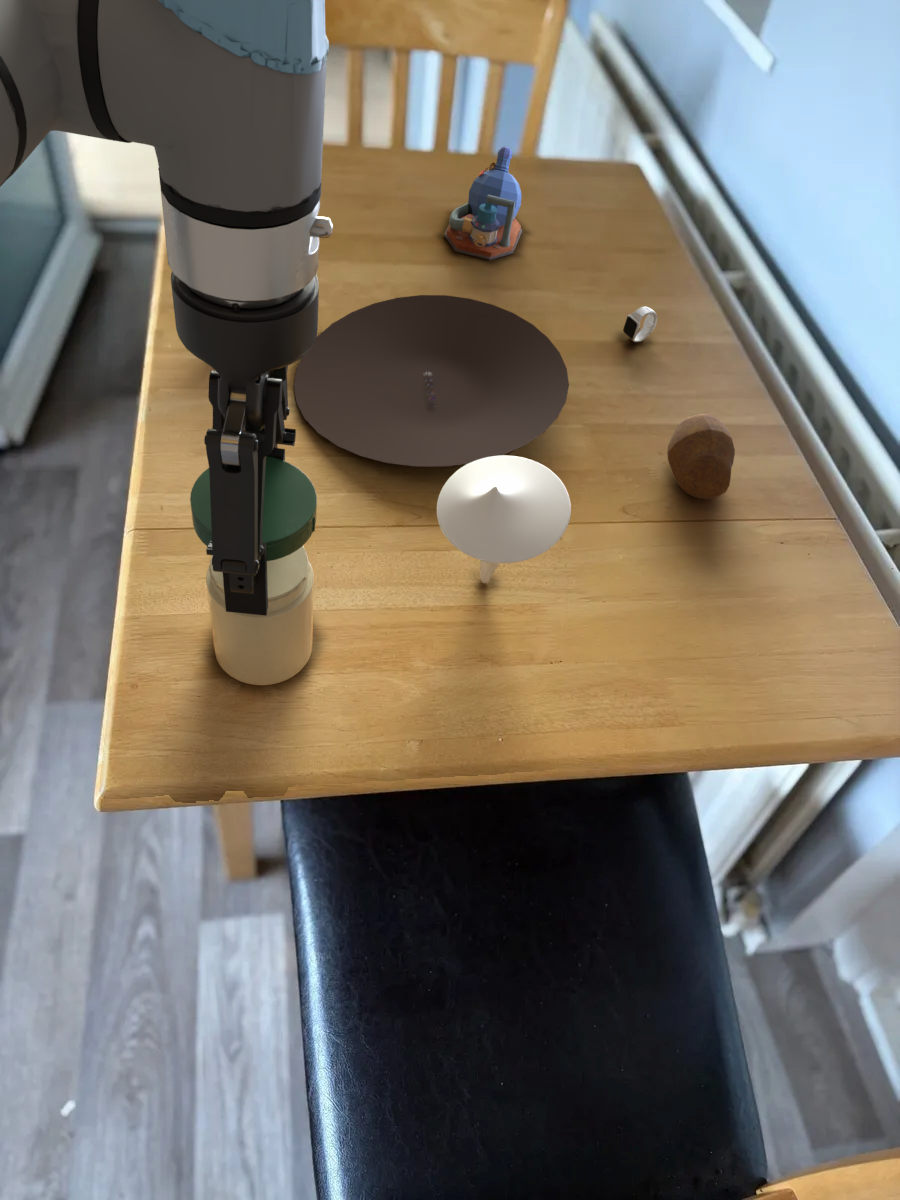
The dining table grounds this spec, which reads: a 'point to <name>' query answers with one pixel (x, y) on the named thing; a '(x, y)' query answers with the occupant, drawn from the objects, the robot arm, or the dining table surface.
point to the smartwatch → (634, 324)
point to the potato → (701, 456)
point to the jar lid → (268, 508)
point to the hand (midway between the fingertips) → (256, 560)
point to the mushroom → (503, 510)
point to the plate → (431, 381)
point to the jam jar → (266, 624)
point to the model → (488, 213)
